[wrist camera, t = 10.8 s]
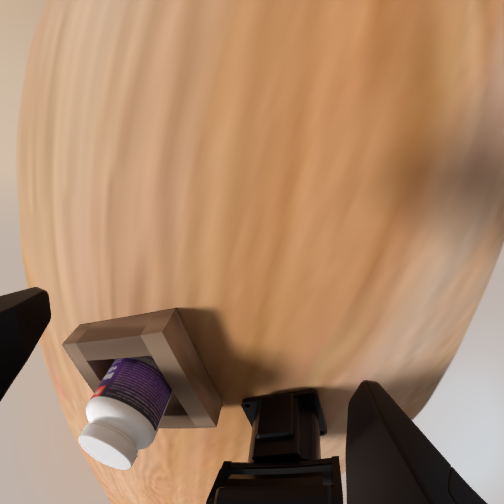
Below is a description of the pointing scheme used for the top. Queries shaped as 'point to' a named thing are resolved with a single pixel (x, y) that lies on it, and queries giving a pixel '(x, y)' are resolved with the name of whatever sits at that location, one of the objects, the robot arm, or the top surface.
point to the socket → (164, 354)
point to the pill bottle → (125, 411)
